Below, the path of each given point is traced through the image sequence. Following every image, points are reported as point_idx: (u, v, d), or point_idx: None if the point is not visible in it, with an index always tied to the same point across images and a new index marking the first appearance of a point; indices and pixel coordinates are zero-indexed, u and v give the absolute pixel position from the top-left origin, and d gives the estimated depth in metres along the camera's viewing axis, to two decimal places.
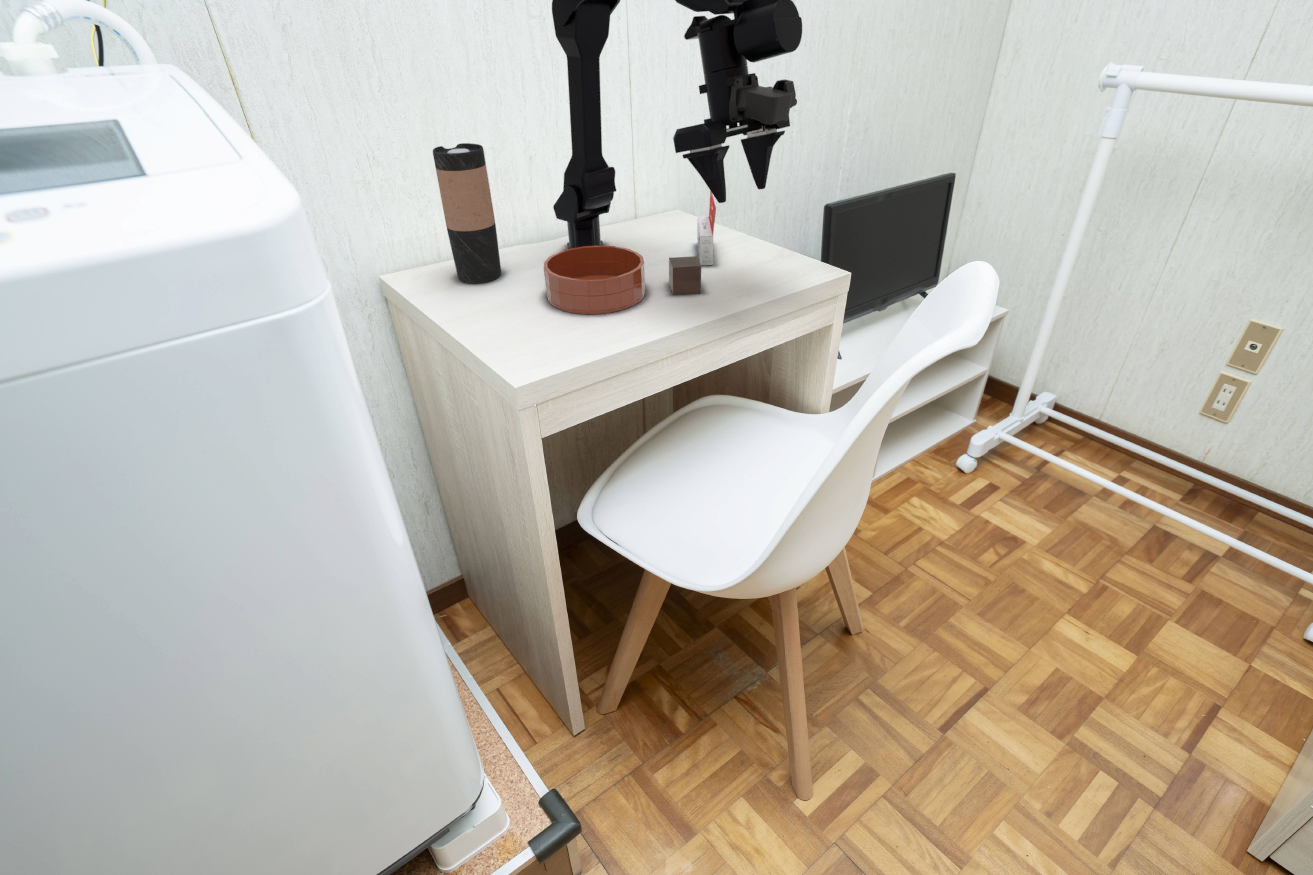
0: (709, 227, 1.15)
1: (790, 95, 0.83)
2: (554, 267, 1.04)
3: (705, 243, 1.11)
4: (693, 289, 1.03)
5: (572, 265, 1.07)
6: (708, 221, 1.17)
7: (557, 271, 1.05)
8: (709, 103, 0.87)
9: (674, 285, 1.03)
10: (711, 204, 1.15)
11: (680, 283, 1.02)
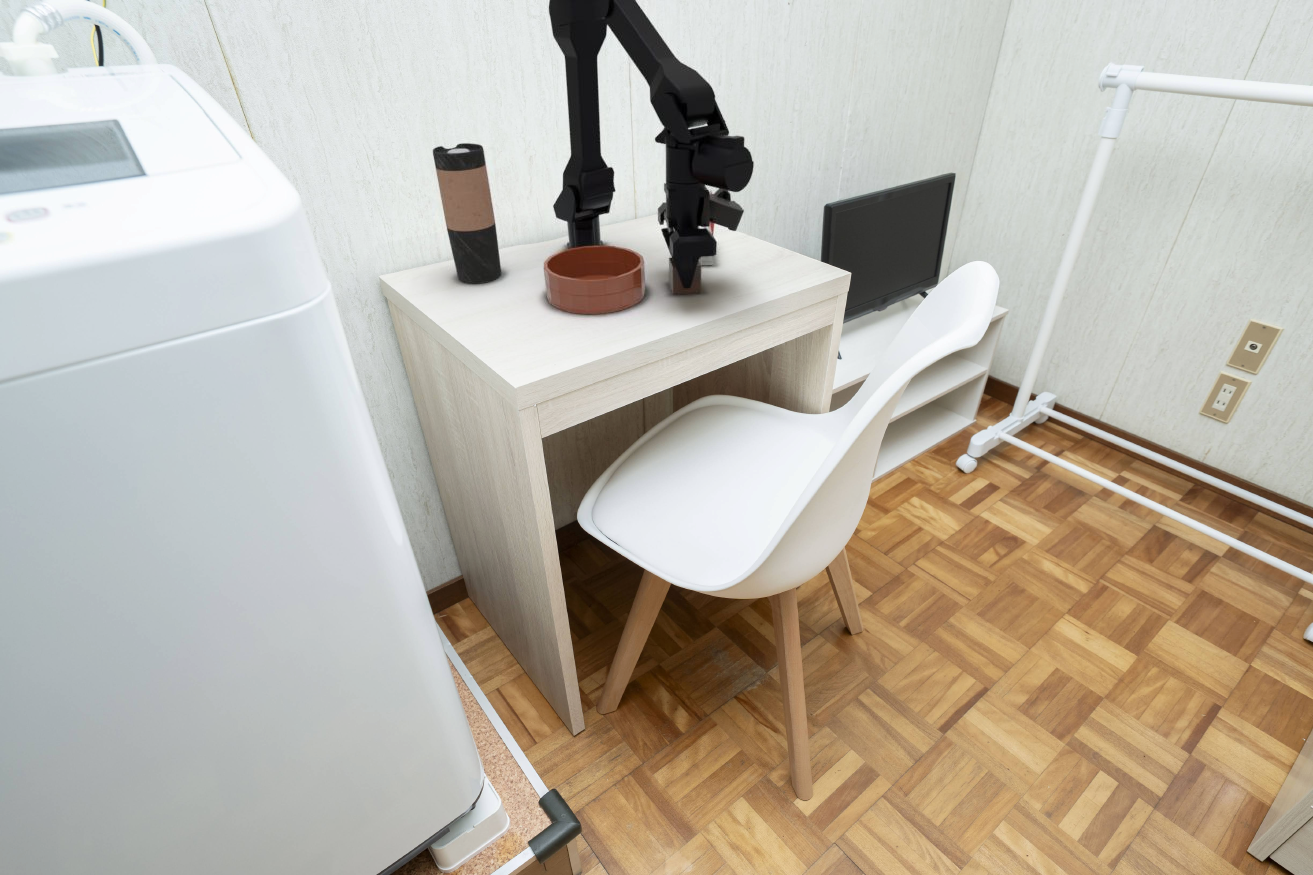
0: (709, 227, 1.15)
1: (739, 205, 1.00)
2: (554, 267, 1.04)
3: None
4: (693, 289, 1.03)
5: (572, 265, 1.07)
6: None
7: (557, 271, 1.05)
8: (677, 208, 0.96)
9: (674, 285, 1.03)
10: None
11: (680, 283, 1.02)
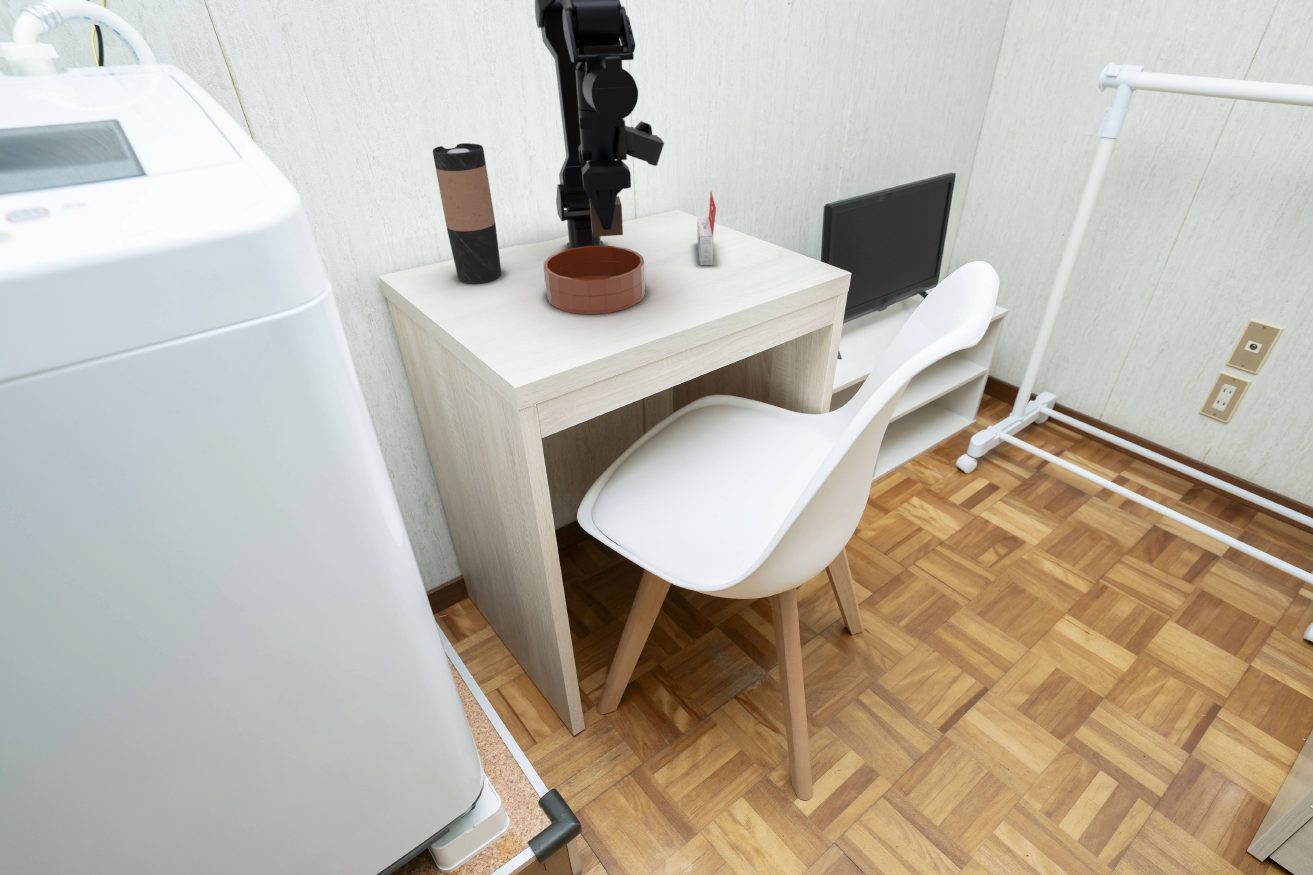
0: (709, 227, 1.15)
1: (661, 139, 0.94)
2: (554, 267, 1.04)
3: (705, 243, 1.11)
4: (614, 230, 0.97)
5: (572, 265, 1.07)
6: (708, 221, 1.17)
7: (557, 271, 1.05)
8: (591, 138, 0.89)
9: (593, 226, 0.96)
10: (711, 204, 1.15)
11: (600, 224, 0.96)
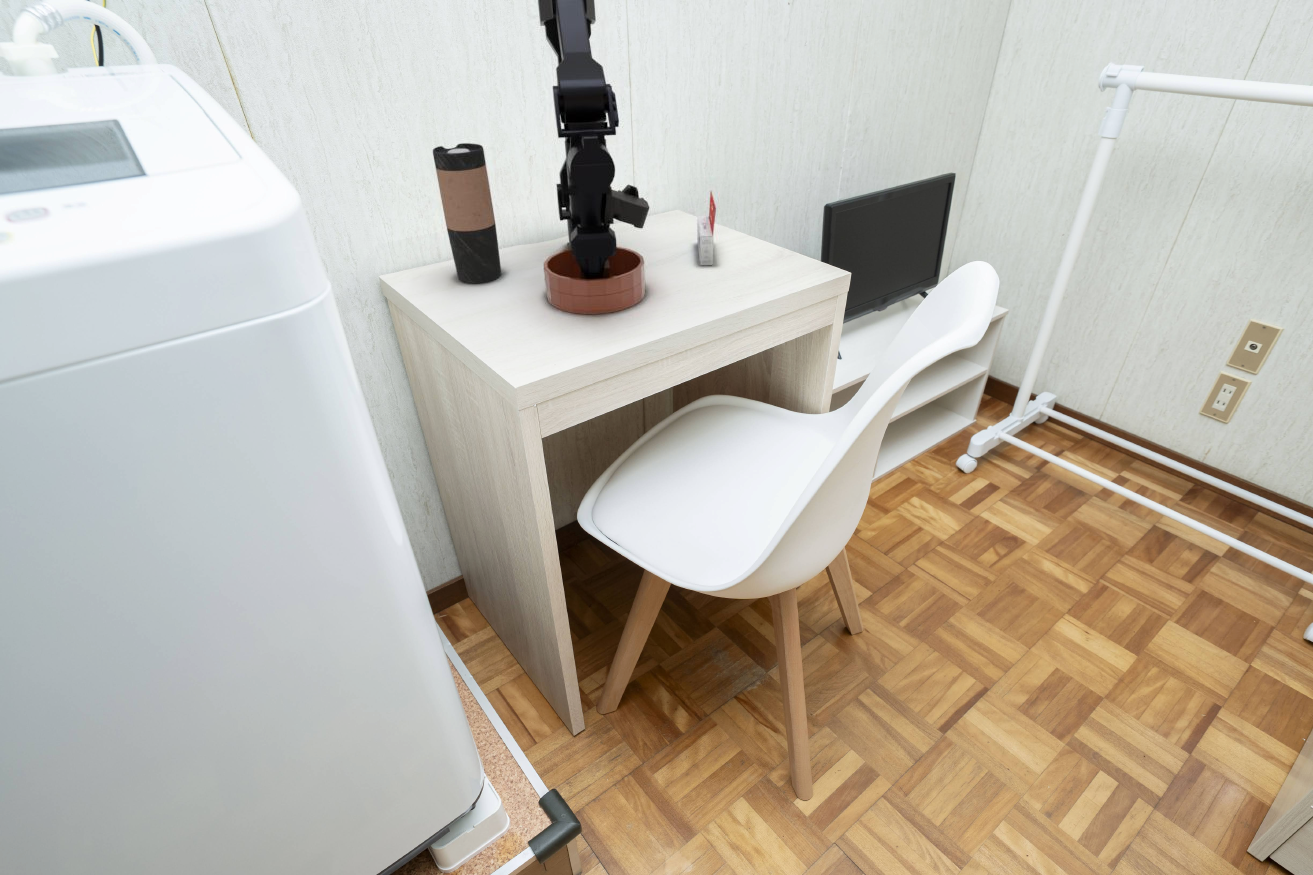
0: (709, 227, 1.15)
1: (647, 202, 0.98)
2: (554, 267, 1.04)
3: (705, 243, 1.11)
4: None
5: (572, 265, 1.07)
6: (708, 221, 1.17)
7: (557, 271, 1.05)
8: (579, 204, 0.94)
9: None
10: (711, 204, 1.15)
11: None
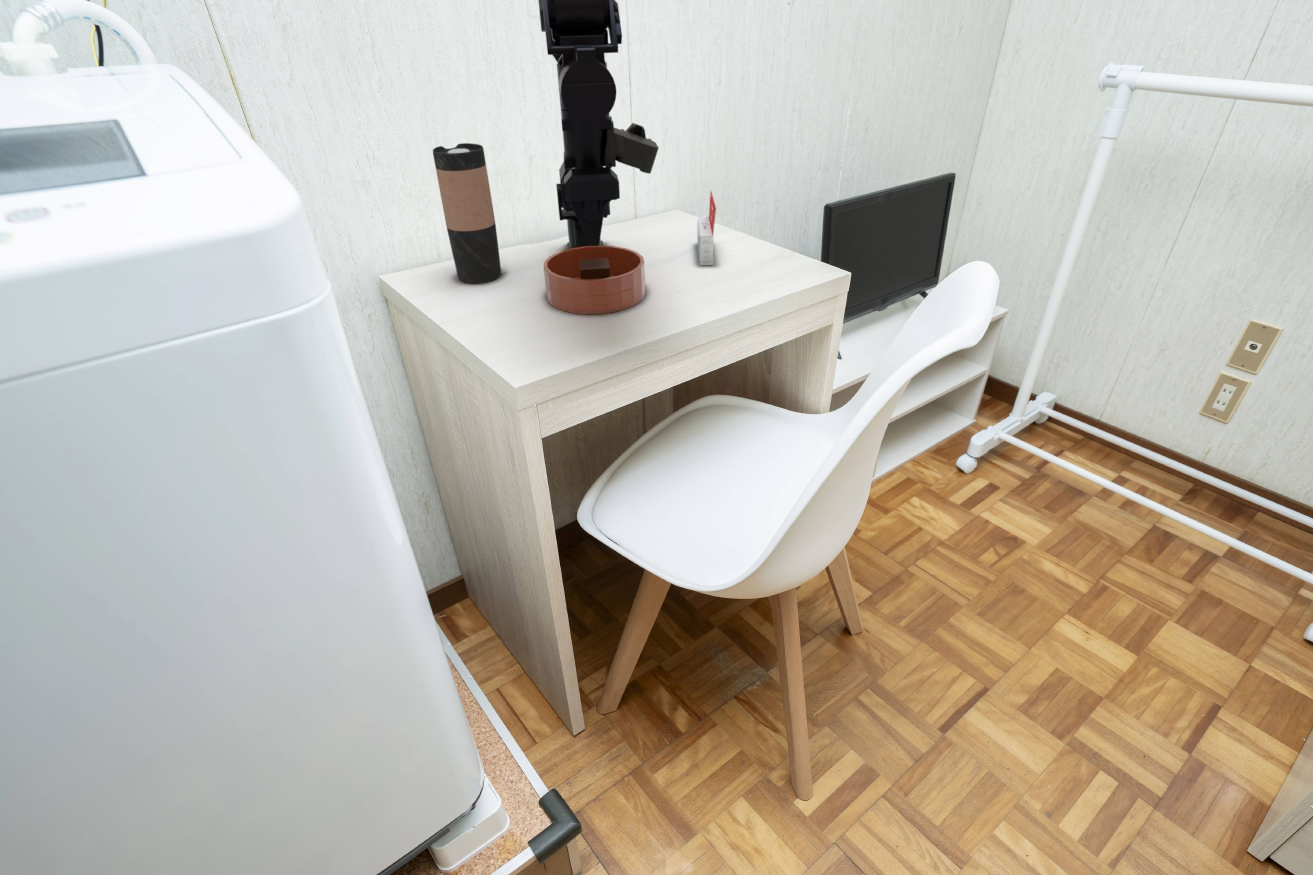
0: (709, 227, 1.15)
1: (655, 143, 0.83)
2: (554, 267, 1.04)
3: (705, 243, 1.11)
4: None
5: (572, 265, 1.07)
6: (708, 221, 1.17)
7: (557, 271, 1.05)
8: (575, 142, 0.78)
9: None
10: (711, 204, 1.15)
11: None
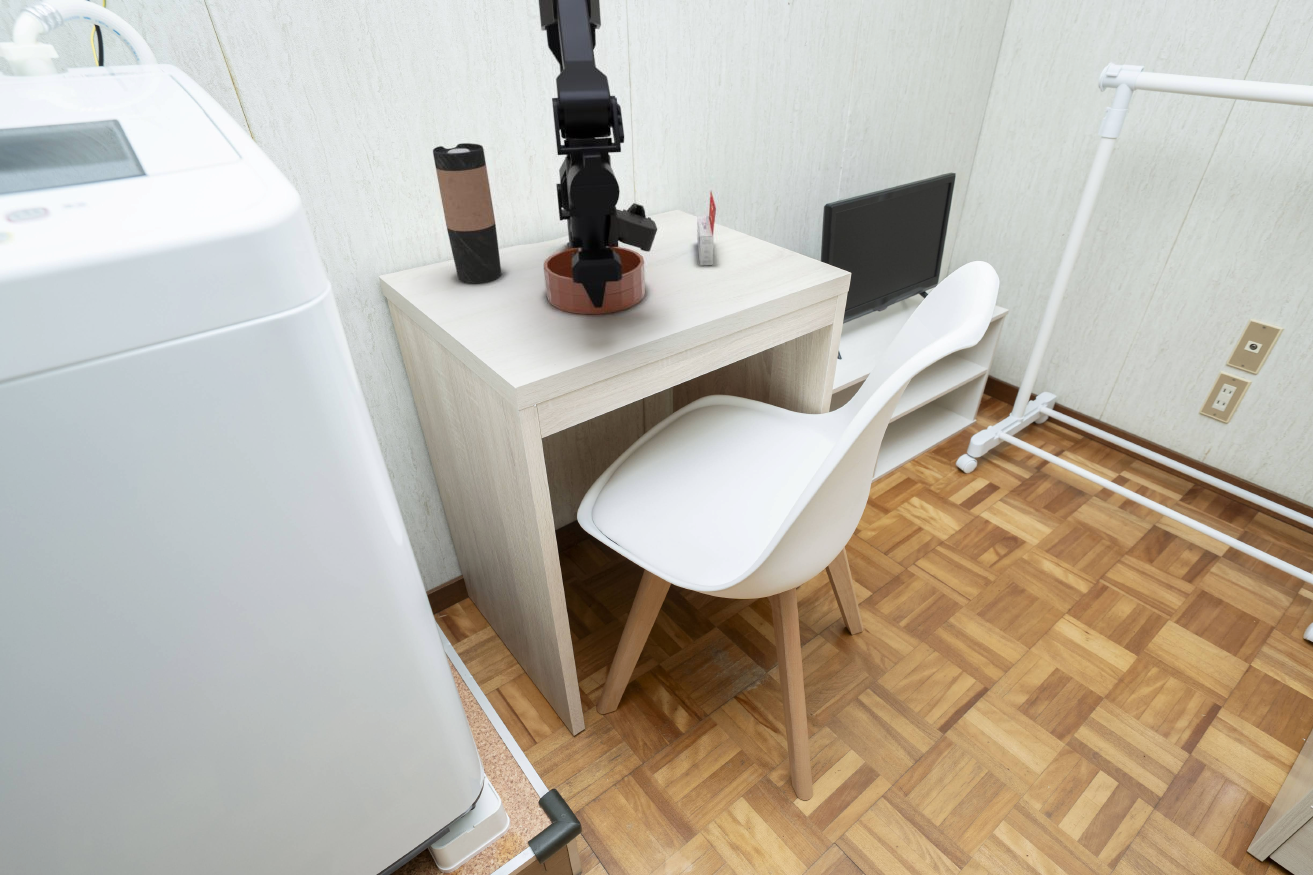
0: (709, 227, 1.15)
1: (654, 223, 0.91)
2: (554, 267, 1.04)
3: (705, 243, 1.11)
4: None
5: None
6: (708, 221, 1.17)
7: (557, 271, 1.05)
8: (581, 226, 0.86)
9: None
10: (711, 204, 1.15)
11: None
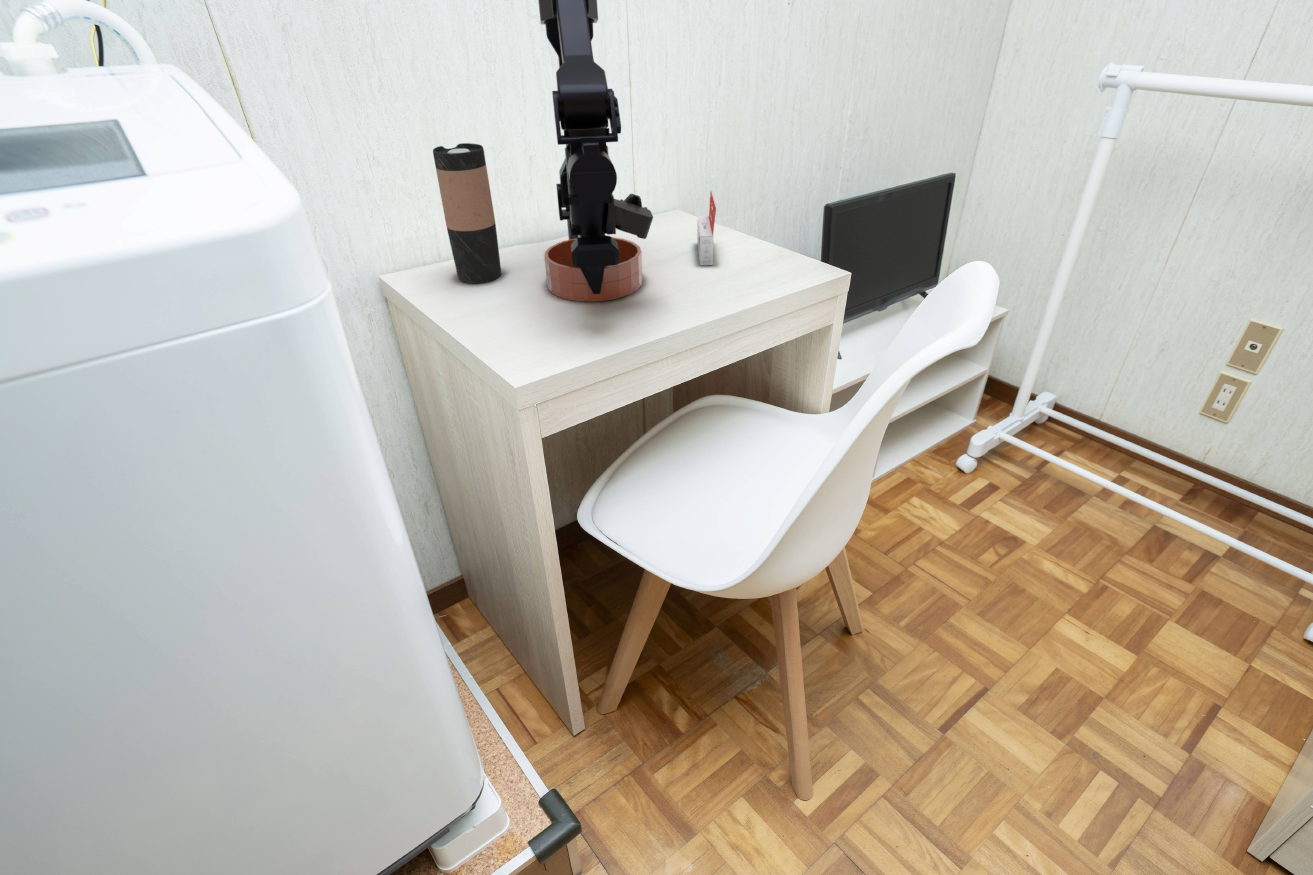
0: (709, 227, 1.15)
1: (650, 212, 0.95)
2: (554, 257, 1.08)
3: (705, 243, 1.11)
4: None
5: None
6: (708, 221, 1.17)
7: (558, 261, 1.09)
8: (580, 214, 0.90)
9: None
10: (711, 204, 1.15)
11: None
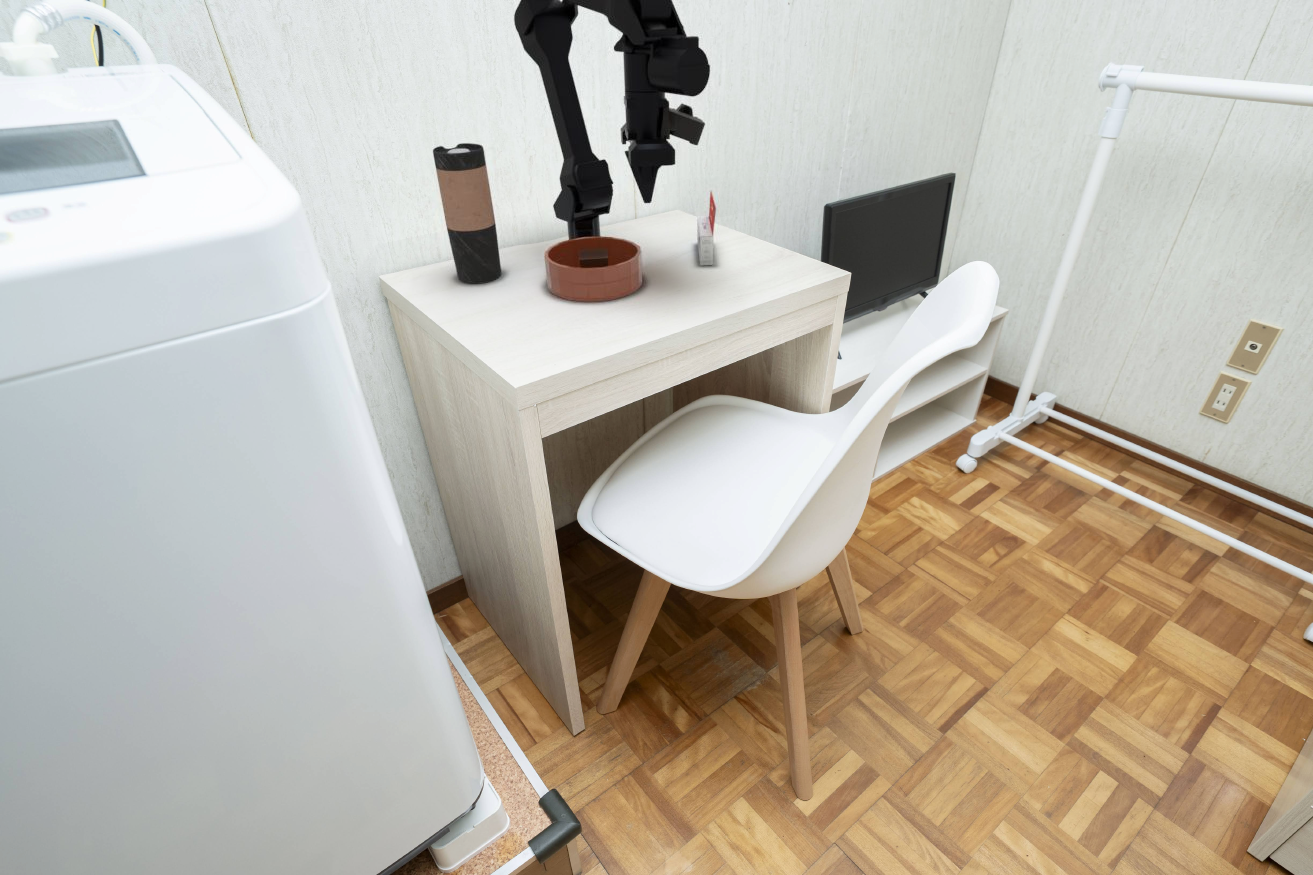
0: (709, 227, 1.15)
1: (701, 120, 0.99)
2: (554, 257, 1.08)
3: (705, 243, 1.11)
4: None
5: (572, 255, 1.11)
6: (708, 221, 1.17)
7: (558, 261, 1.09)
8: (636, 118, 0.94)
9: None
10: (711, 204, 1.15)
11: None
